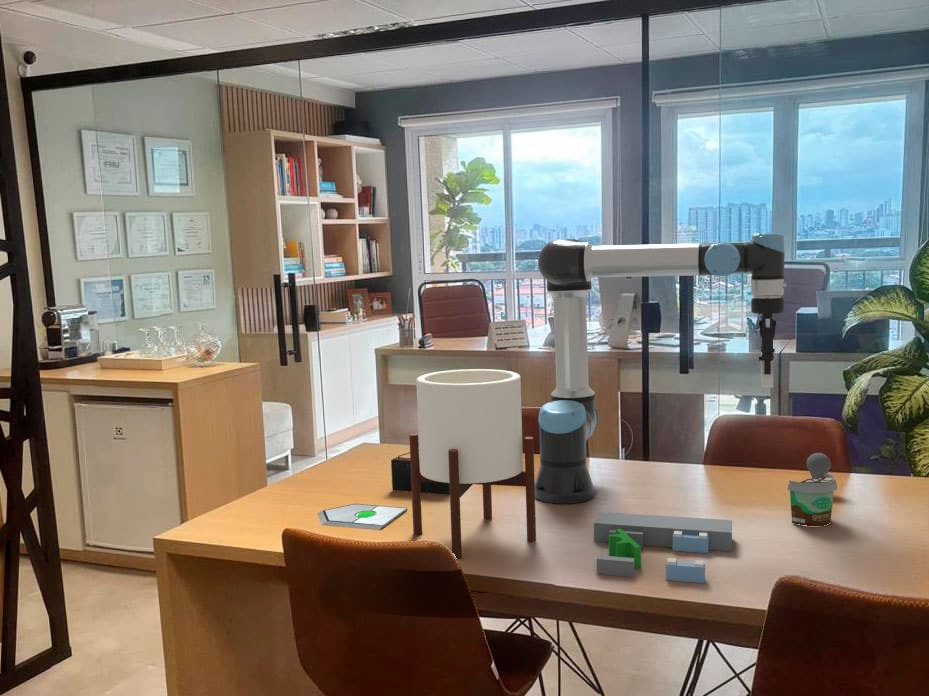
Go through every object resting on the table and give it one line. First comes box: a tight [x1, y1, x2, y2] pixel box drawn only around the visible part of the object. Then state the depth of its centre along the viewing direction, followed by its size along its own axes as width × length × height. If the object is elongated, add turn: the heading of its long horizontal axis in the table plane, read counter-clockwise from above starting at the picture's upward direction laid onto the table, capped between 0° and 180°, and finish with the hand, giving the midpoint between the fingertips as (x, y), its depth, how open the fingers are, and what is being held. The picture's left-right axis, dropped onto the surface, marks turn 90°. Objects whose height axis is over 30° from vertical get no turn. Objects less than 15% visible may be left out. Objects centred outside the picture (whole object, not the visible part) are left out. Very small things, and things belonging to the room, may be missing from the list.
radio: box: [390, 451, 450, 496], centre depth 220 cm, size 19×3×15 cm, turn 68°
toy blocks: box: [593, 511, 733, 584], centre depth 170 cm, size 28×26×4 cm
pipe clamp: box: [608, 529, 642, 570], centre depth 168 cm, size 11×4×5 cm, turn 9°
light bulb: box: [806, 452, 832, 479], centre depth 208 cm, size 6×6×10 cm
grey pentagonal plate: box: [316, 503, 408, 531], centre depth 203 cm, size 17×22×2 cm
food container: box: [787, 473, 838, 527], centre depth 185 cm, size 12×6×10 cm, turn 118°
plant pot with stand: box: [408, 368, 537, 561], centre depth 183 cm, size 22×22×36 cm
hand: (766, 383), depth 207 cm, fingers open, 13 cm apart
